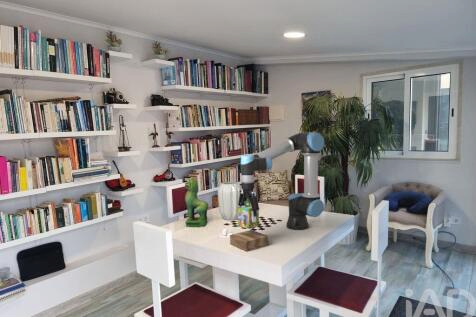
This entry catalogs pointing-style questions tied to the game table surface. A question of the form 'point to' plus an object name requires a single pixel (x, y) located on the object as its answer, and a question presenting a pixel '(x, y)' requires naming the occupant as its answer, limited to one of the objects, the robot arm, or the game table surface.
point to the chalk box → (247, 216)
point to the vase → (229, 200)
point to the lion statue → (195, 205)
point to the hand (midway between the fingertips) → (248, 219)
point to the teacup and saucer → (225, 233)
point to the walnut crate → (249, 240)
